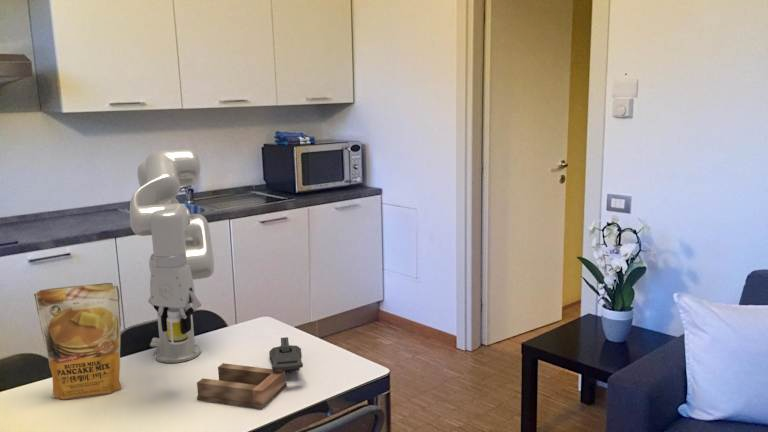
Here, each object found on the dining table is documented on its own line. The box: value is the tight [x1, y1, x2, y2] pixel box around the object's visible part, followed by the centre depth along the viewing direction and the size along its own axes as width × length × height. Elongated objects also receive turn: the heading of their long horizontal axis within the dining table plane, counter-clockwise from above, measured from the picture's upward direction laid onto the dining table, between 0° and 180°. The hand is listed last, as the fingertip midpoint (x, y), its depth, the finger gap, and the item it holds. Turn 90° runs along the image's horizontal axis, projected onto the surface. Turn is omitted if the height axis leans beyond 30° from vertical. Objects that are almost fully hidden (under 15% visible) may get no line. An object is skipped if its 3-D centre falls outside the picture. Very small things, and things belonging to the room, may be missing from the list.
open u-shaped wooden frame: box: [196, 362, 288, 411], centre depth 164 cm, size 18×13×4 cm
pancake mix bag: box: [33, 282, 123, 400], centre depth 165 cm, size 7×19×28 cm, turn 105°
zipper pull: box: [268, 337, 304, 375], centre depth 177 cm, size 9×7×25 cm
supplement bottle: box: [166, 308, 188, 345], centre depth 163 cm, size 5×5×8 cm
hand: (176, 330), depth 163 cm, fingers closed on supplement bottle, 4 cm apart
